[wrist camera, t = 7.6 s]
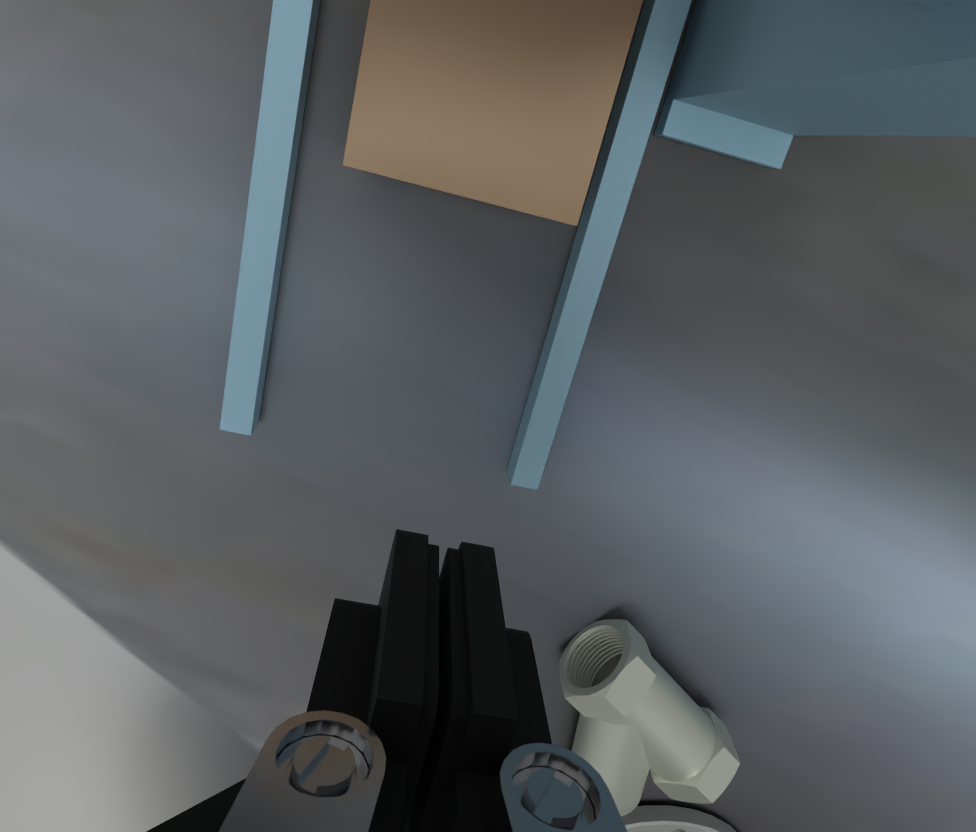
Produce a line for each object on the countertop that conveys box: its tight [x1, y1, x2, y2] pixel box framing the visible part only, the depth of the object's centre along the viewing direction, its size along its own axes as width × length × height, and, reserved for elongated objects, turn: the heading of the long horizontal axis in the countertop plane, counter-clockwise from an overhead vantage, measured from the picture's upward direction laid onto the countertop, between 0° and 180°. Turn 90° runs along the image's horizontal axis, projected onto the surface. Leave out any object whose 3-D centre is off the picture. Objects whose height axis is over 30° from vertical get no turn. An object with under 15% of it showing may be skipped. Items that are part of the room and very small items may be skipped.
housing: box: [343, 0, 643, 226], centre depth 17 cm, size 8×6×6 cm
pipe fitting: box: [559, 619, 740, 816], centre depth 29 cm, size 8×4×7 cm
